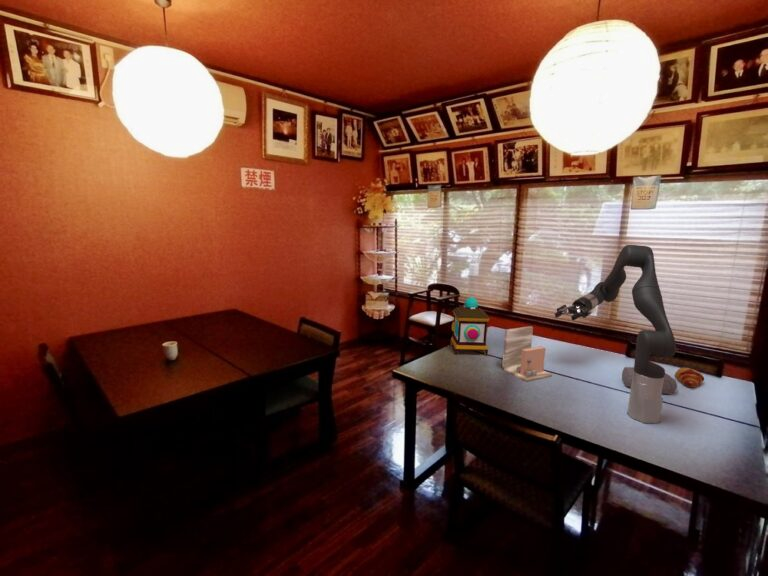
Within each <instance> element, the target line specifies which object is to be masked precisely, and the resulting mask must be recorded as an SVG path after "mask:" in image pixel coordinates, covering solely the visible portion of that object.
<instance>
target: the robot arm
mask: <svg viewBox="0 0 768 576" xmlns="http://www.w3.org/2000/svg"><path fill="white" fill-rule="evenodd" d="M653 251H654V250H653V249H652V248H651V247H650V246H647V245H638V244H637V245H636V244H626V245H625V246H623V247H622V249H621V250H620V251H619V254H618V256H617V258H616V260H615V263H614V265H613V267H612V270H611V271H610V273H609V274H608V275H607V276H606V278H605V279H604V281H600V282H598V283H597V284H596V285H595V286H594V287H593V289H592V290H591V291H590V292H588V293H587V294H584V295H582V296H581V297H579V298H578V299H575V300H574V301H573V302H572V304H571V305H568V306H567V305H566V304H563V305H561V306H560V307H557V308H556V312H555V313H554V318H556V319H557V318H559V317H561V316H564V315H566V316H568V315H571V316H570V317H571V321H575V320H577V319H581V318H582V319H584V318H585V319H586V318H587V317H588V316H590V315H591V314H592V310H594V309H595V308H596V307H598V306H600V305H601V304H603V302H606V303H611V302H614V301H615V300H616V299H617V297H618V296H619V292H620V288H621V287H622V285H623V284H624V283H625V282H626V279H627V273H626V270H625V267H630V268H632V267H633V268H640V269H641V275H640V277H639V278H638V280H637V281H636V282H635V283H634V285H633V287H632V289H631V296H632V301H633V305H634V307H635V309H637V311H638V312H639V313H640V314H641V315H642V316H643V317H644V318H646V320H647V321H649V322H650V324H651V325H652V327H653V328H654V330H646V329H642V330H640V331H639V332H638V333H637V335H636V336H637V337H636V341H635V342H636V343H635V351H634V352H635V355H634V362H633V363H634V366H633V367H634V372H633V378H632V385H631V388H630V391H629V392H630V393H629V398H628V403H627V404H628V406H627V413H626V414H627V415H628V416H629V417H630V418H632V419H634V420H635V421H639V422H641V423H643V424H651V423H653V424H657V423H658V424H659V423H660V418H661V411H662V407H663V401H664V399H663V398H662V394H661V393H662V387H663V382H664V376H665V373H666V369H665V368H664V367H663V366H661V365H660V364H657V363H655V362H652V361H651V360H650V357H653V358H654V357H655V358H663V359H664V358H665V359H666V358H667V359H669V358H672V357H674V356H675V354H676V351H677V344H676V338H675V336H674V333H673V331H672V327H671V325H670V321H669V320H668V317H667V313H666V311H665V306H664V301H663V296H662V295H663V294H662V291H661V288H660V285H659V281H658V277H657V272H656V263H655V256H654V252H653Z"/></svg>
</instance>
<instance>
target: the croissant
mask: <svg viewBox="0 0 768 576" xmlns="http://www.w3.org/2000/svg"><path fill="white" fill-rule="evenodd" d="M674 376H675V378H676V380H677V381H678V382H679V383H681V384H682V385H684V386H686V387H688V388H697V387H698V386H700V385H701V384H702V383H703V382H704V381H705V377H704V376H703V374H702V373H701V372H699V371H697V369H693V368H690V367H685V366H684V367H683V366H682V367H681V368H679V369H677V371H676V372H675V374H674Z"/></svg>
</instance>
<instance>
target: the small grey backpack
mask: <svg viewBox="0 0 768 576" xmlns="http://www.w3.org/2000/svg"><path fill="white" fill-rule="evenodd" d="M633 372H634V366H633V367H632V366H631V367H630V366H628V367H627V366H626V367H625V366H624V368H623V369H622V373H621V379H622V383H623V385H624V386H625V387H627V388H630V389H631V385H632V378H633ZM676 380H677V379H674V378H673V377H671V376H670V375H669V374H668V373H666V372H665V376H664V382H663V387H662V393H661V395H671V394H675V391H676V390H677V388H678V384H677V381H676Z"/></svg>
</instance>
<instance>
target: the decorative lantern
mask: <svg viewBox="0 0 768 576" xmlns="http://www.w3.org/2000/svg"><path fill="white" fill-rule="evenodd" d="M478 305H479V303H478V300H477V299H476V298H474V297H472V296H471V297H468V298H467V299H466V300H465V301H464V304H462V305H461V306H459V307H455V308H454V309H452V313H453V321H452V322H451V327H450V328H451V331H452V333H453V334H452V336H451V338H450V345H451V346H453V348H454V354H455V355H456V356H458V353H459V351H473V352H474V351H475V352H478V351H479V352H482V351H483V352H484V356H488V353H489V351H488V350H489V349H488V346H487V334H488V333H487V332H488V323H489V321H490V319H491V318H490V317H489V315H488V314H487V313H486V312H485V311H484V310H483V309H482V308H480V307H479V306H478Z"/></svg>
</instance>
